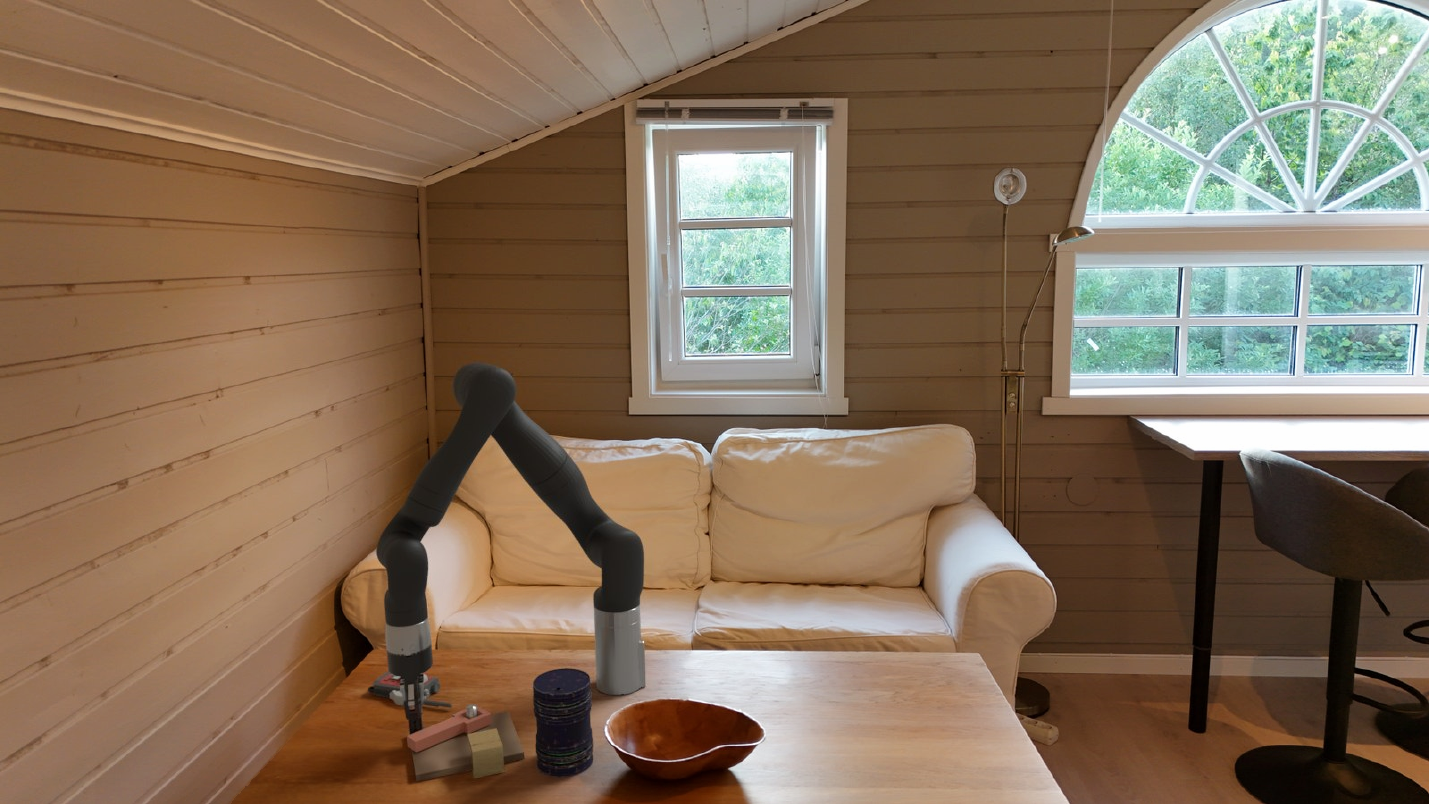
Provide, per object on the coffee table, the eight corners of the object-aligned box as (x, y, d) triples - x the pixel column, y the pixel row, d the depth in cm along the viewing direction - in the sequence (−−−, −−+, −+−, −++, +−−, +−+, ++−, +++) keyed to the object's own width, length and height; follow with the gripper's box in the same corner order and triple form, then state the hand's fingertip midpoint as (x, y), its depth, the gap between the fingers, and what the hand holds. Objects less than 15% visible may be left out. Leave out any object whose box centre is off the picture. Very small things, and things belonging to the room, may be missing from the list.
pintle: (477, 728, 176) (475, 703, 175) (478, 733, 174) (477, 707, 173) (467, 730, 175) (465, 705, 174) (468, 735, 173) (466, 709, 173)
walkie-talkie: (360, 701, 188) (448, 715, 182) (358, 680, 187) (447, 693, 181) (388, 681, 196) (473, 694, 190) (386, 661, 195) (472, 673, 189)
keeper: (497, 753, 167) (496, 728, 166) (504, 772, 161) (502, 746, 160) (468, 759, 165) (467, 734, 164) (474, 778, 159) (472, 752, 158)
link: (476, 714, 178) (476, 704, 177) (491, 723, 174) (491, 713, 174) (404, 744, 168) (404, 733, 167) (419, 754, 164) (418, 744, 164)
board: (508, 716, 180) (508, 710, 180) (524, 758, 165) (524, 752, 165) (408, 736, 173) (408, 730, 173) (416, 781, 159) (416, 775, 158)
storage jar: (543, 746, 169) (539, 667, 167) (598, 746, 169) (595, 667, 166) (530, 778, 159) (526, 694, 157) (589, 778, 159) (585, 694, 156)
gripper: (388, 630, 172) (396, 719, 175) (383, 662, 159) (392, 757, 163) (431, 625, 174) (438, 712, 177) (430, 656, 161) (437, 750, 164)
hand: (416, 733), depth 170 cm, fingers closed
